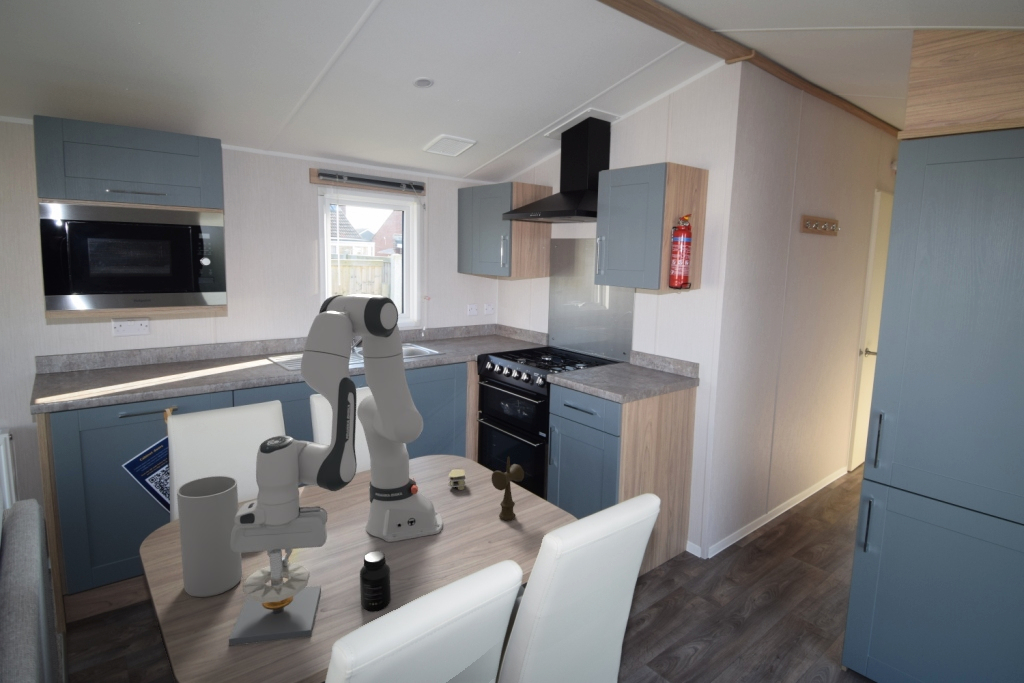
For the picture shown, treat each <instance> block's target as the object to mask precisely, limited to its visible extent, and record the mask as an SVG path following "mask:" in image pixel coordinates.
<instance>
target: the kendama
mask: <svg viewBox="0 0 1024 683" xmlns="http://www.w3.org/2000/svg"><path fill="white" fill-rule="evenodd" d="M510 459H511V458H510V456H508V457H507V461H506V472H502V471H501V470H495V471H493V472H492V474H491V483H492V485H493V487H494V488H495V489H497V490H498V491H504V493H503V498H502V501H501V502H500V504H499V505H500V507H501V510H500V511H501V512H500V513H499V515H498V517H499V519H501V520H503V521H513V520H515V518H516V513H515V512H514V507H515V505H516V502H515V501H514V500H513V497H512V488H511V486H512V485H511V481H515V482H522V481H523V479H524V477H525V473H524V469H523V467H522V466H521V465H520V464H516V463H513V464H511V462H510V461H511V460H510Z"/></svg>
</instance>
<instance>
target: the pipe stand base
mask: <svg viewBox="0 0 1024 683" xmlns="http://www.w3.org/2000/svg"><path fill="white" fill-rule="evenodd" d="M321 594H322V585H316V586H306V587H305V588H304V589H302V590H301V591H300V592H299V593H298V594H296V595H294V596H293V601H292V602H291V603H290V604H289V605H287V606H285V607H284V611H283V612H281V613H279V614H274V613H273V611H272V610H269V609H266V608H264V607H263V606H262V603H260V602H256V601H252V600H248V598H247V597H246V599H245V600H244V603H243V606H242V608H241V610H240V612H239V615H238V617H237V620H236V622H235V623H234V626H233V629H232V631H231V634H230V636H229V638H228V646H238V645H239V644H240V645H246V643H248V644H254V643H255V644H256V642H257V643H265V642H273V641H274V642H275V641H282V640H291V639H300V638H301V639H302V638H309V637H312V633H313V630H314V625H315V620H316V616H317V611H318V606H319V602H320V598H321Z"/></svg>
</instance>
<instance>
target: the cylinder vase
mask: <svg viewBox="0 0 1024 683" xmlns="http://www.w3.org/2000/svg"><path fill="white" fill-rule="evenodd" d="M176 497H177V498H176V499H177V511H178V524H179V526H178V527H179V537H180V550H181V552H180V553H181V565H182V577H183V588H184V589H183V590H184V591H185V592H186V594H188V595H189V596H191V597H197V598H206V597H207V598H208V597H213V596H218V595H220V594H223V593H225V592H227V591H230V590H231V589H232V588H234V587H235V586H236V585H237V584H239V582H240V581H241V580H242V577H243V566H242V564H243V563H242V553H234V552H233V551H232V550H231V547H230V542H231V532H232V529H233V527H234V525H235V515H236V513H237V511H238V510H239V509H240V508H239V493H238V480H237V479H236V478H235V477H231V476H226V475H213V476H212V475H210V476H205V477H201V478H196V479H193V480H190V481H188V482H185V483H183V484H182V485H180V486H179V487H178V488H177V490H176Z"/></svg>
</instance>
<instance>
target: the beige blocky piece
mask: <svg viewBox="0 0 1024 683" xmlns="http://www.w3.org/2000/svg"><path fill="white" fill-rule="evenodd" d="M465 480H466V472H465V470H464V469H460V468H459V469H458V468H457V469H456V468H455V469H451V471H450V472H449V473H448V481H449V483H448V487H450V488H455V487H456V488H457V489H458V491H463V490H465V486H466V481H465Z"/></svg>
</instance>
